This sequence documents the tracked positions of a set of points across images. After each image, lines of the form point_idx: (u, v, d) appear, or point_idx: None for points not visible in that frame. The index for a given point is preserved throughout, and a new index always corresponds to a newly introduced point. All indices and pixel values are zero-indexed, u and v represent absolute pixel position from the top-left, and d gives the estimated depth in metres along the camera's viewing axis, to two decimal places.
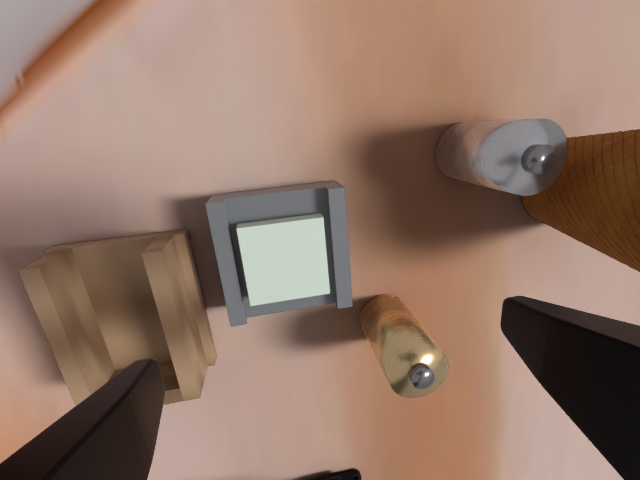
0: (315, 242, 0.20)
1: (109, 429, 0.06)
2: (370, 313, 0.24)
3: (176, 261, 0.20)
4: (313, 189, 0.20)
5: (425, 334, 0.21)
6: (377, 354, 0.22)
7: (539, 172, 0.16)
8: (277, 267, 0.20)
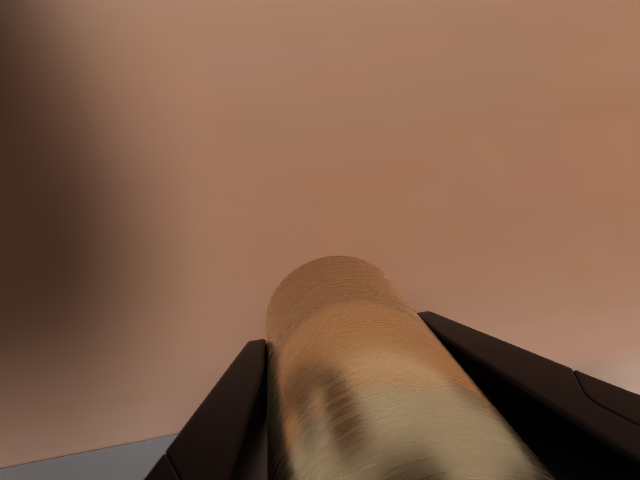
0: None
1: (259, 400, 0.06)
2: None
3: None
4: None
5: None
6: None
7: None
8: None
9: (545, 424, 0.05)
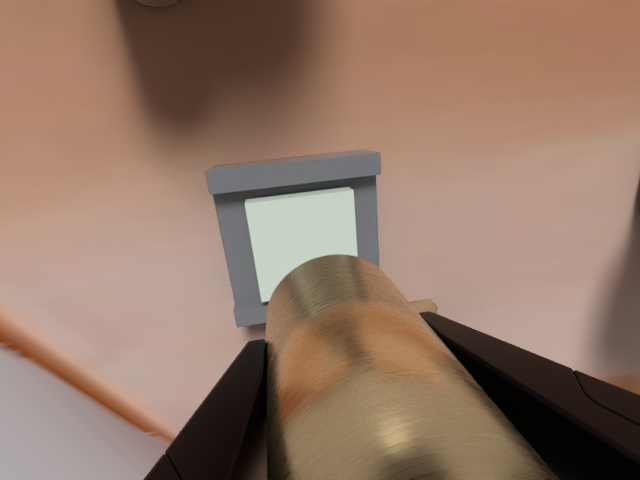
0: (279, 212, 0.15)
1: (258, 400, 0.06)
2: None
3: None
4: (217, 206, 0.16)
5: None
6: None
7: None
8: (311, 258, 0.16)
9: (545, 424, 0.05)
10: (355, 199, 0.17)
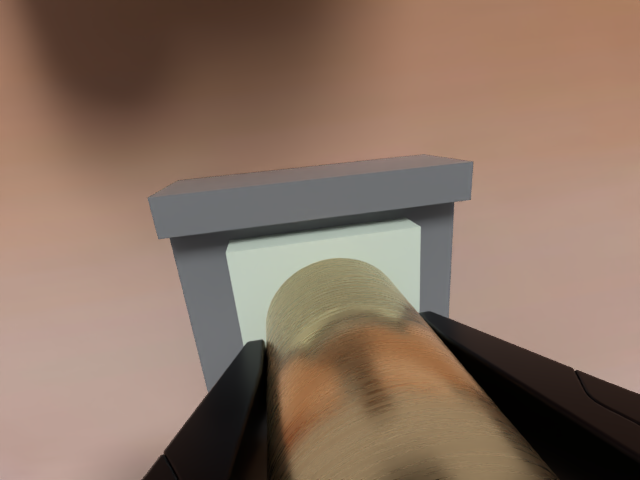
0: (289, 267, 0.08)
1: (257, 400, 0.06)
2: None
3: None
4: (177, 255, 0.09)
5: None
6: None
7: None
8: None
9: (547, 424, 0.05)
10: None
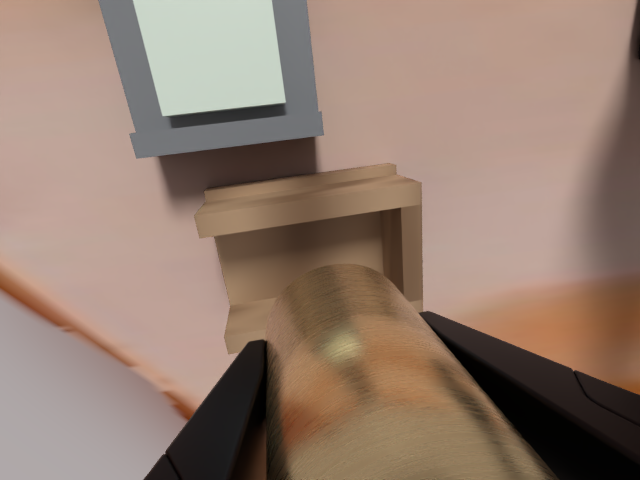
0: None
1: (259, 400, 0.06)
2: None
3: (232, 201, 0.16)
4: None
5: None
6: None
7: None
8: (220, 55, 0.13)
9: (545, 424, 0.05)
10: None
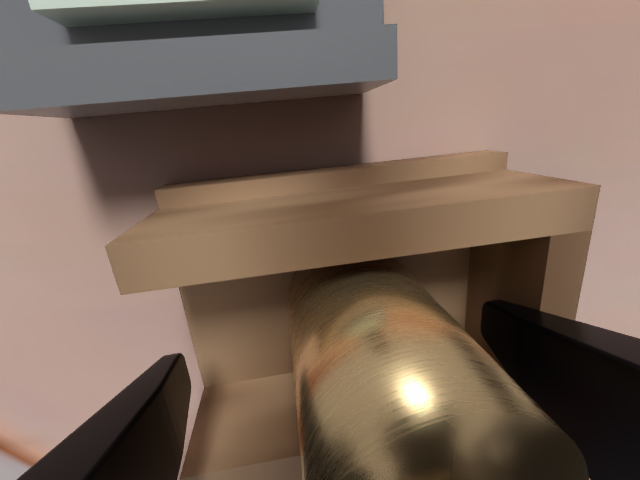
0: None
1: (146, 422, 0.06)
2: None
3: (205, 211, 0.08)
4: None
5: (313, 411, 0.05)
6: None
7: None
8: None
9: None
10: None
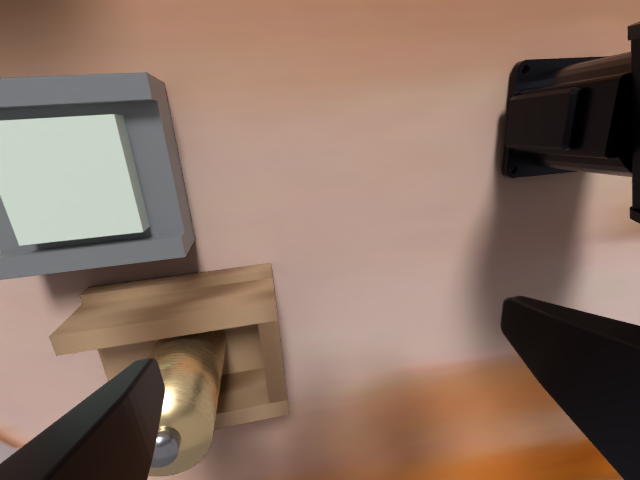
0: (21, 136, 0.13)
1: (109, 429, 0.06)
2: None
3: (103, 309, 0.17)
4: None
5: None
6: None
7: None
8: (75, 194, 0.14)
9: None
10: (136, 132, 0.15)
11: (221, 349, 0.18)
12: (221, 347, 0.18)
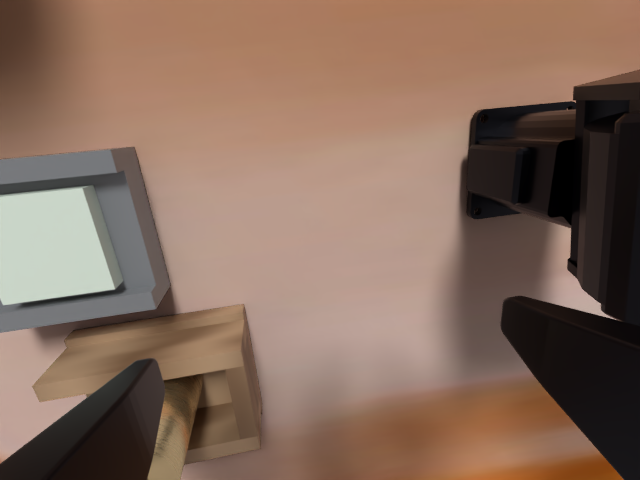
0: None
1: (108, 429, 0.06)
2: None
3: (84, 354, 0.18)
4: None
5: None
6: None
7: None
8: (50, 259, 0.15)
9: None
10: (106, 199, 0.16)
11: (195, 389, 0.19)
12: (196, 386, 0.19)
